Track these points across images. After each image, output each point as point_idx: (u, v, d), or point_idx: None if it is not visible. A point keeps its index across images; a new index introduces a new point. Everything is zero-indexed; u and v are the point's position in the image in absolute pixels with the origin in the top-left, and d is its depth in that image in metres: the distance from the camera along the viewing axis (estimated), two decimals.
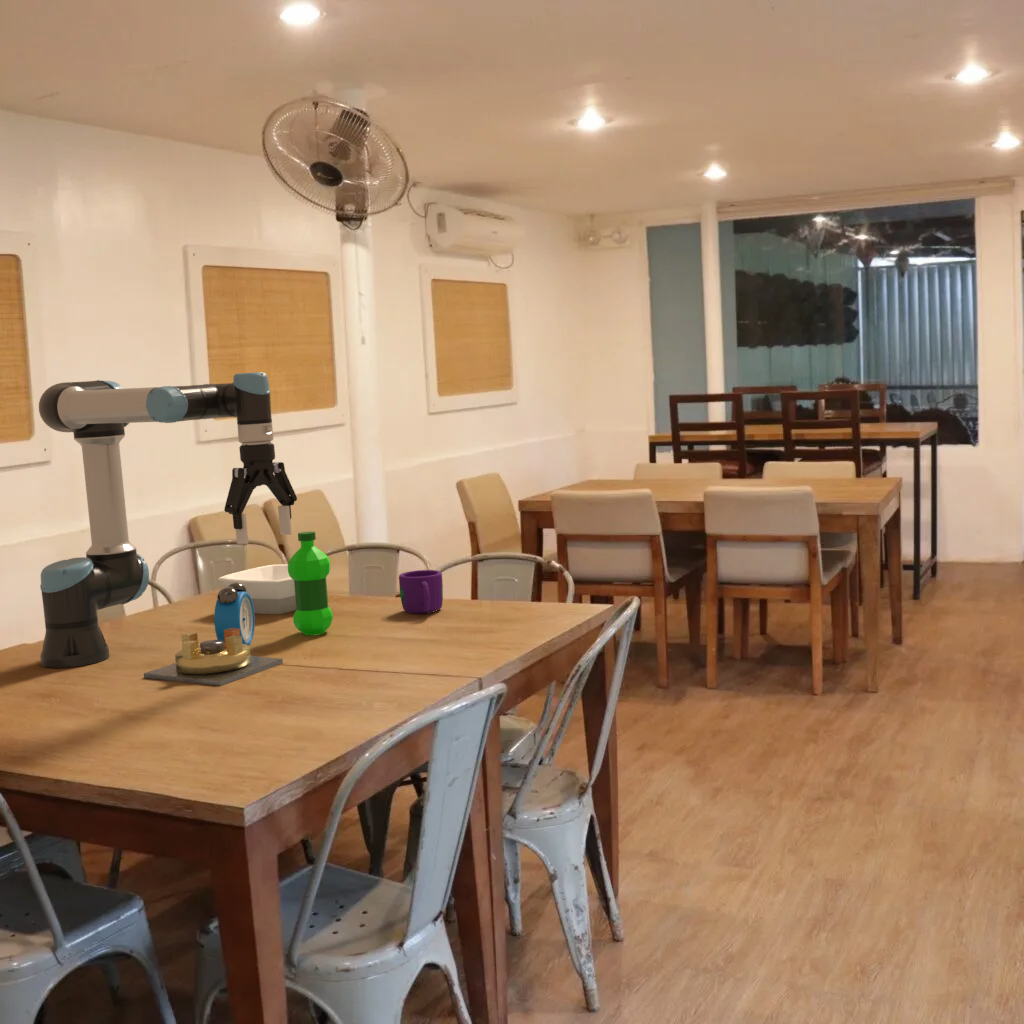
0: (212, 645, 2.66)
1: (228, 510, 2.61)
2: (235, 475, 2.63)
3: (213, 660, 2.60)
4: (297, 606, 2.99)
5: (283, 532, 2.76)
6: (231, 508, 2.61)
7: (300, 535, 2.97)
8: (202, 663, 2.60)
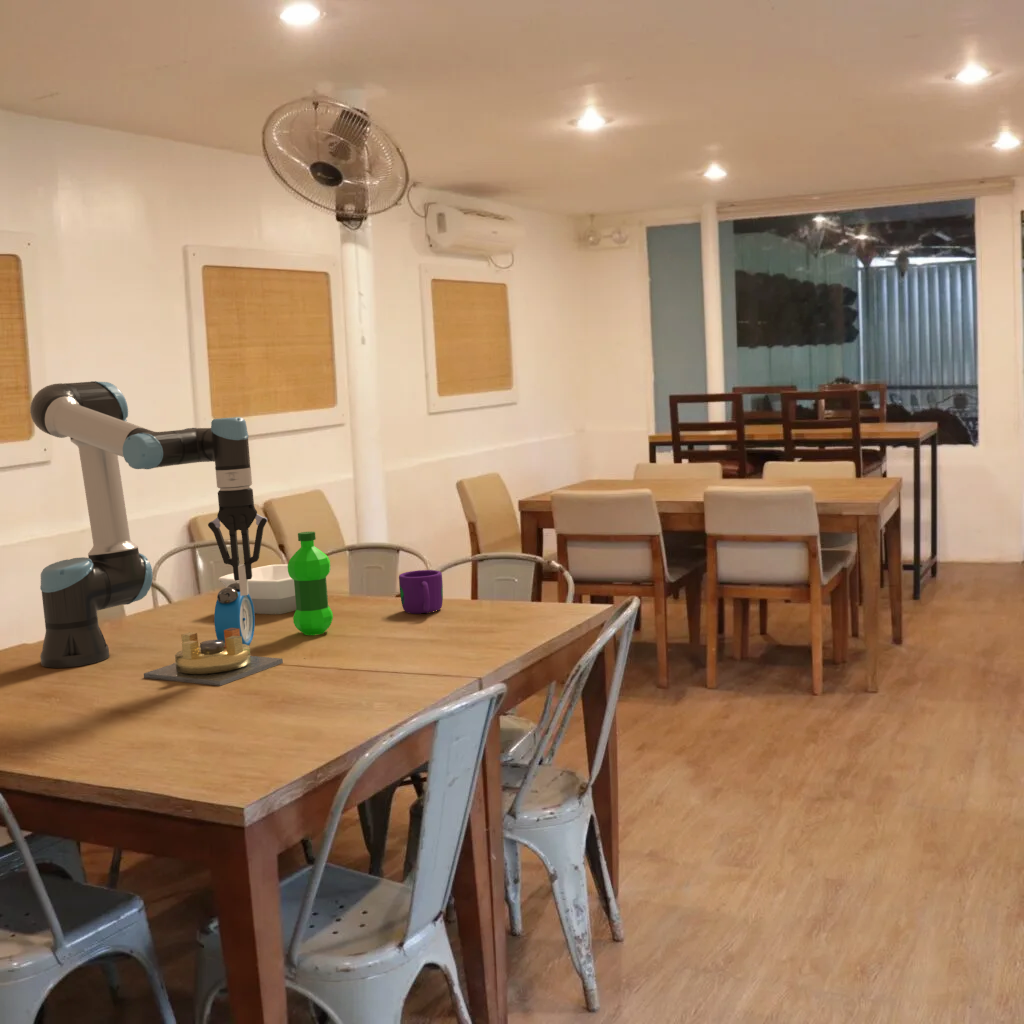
0: (212, 645, 2.66)
1: None
2: None
3: (213, 660, 2.60)
4: (297, 606, 2.99)
5: None
6: None
7: (300, 535, 2.97)
8: (202, 663, 2.60)
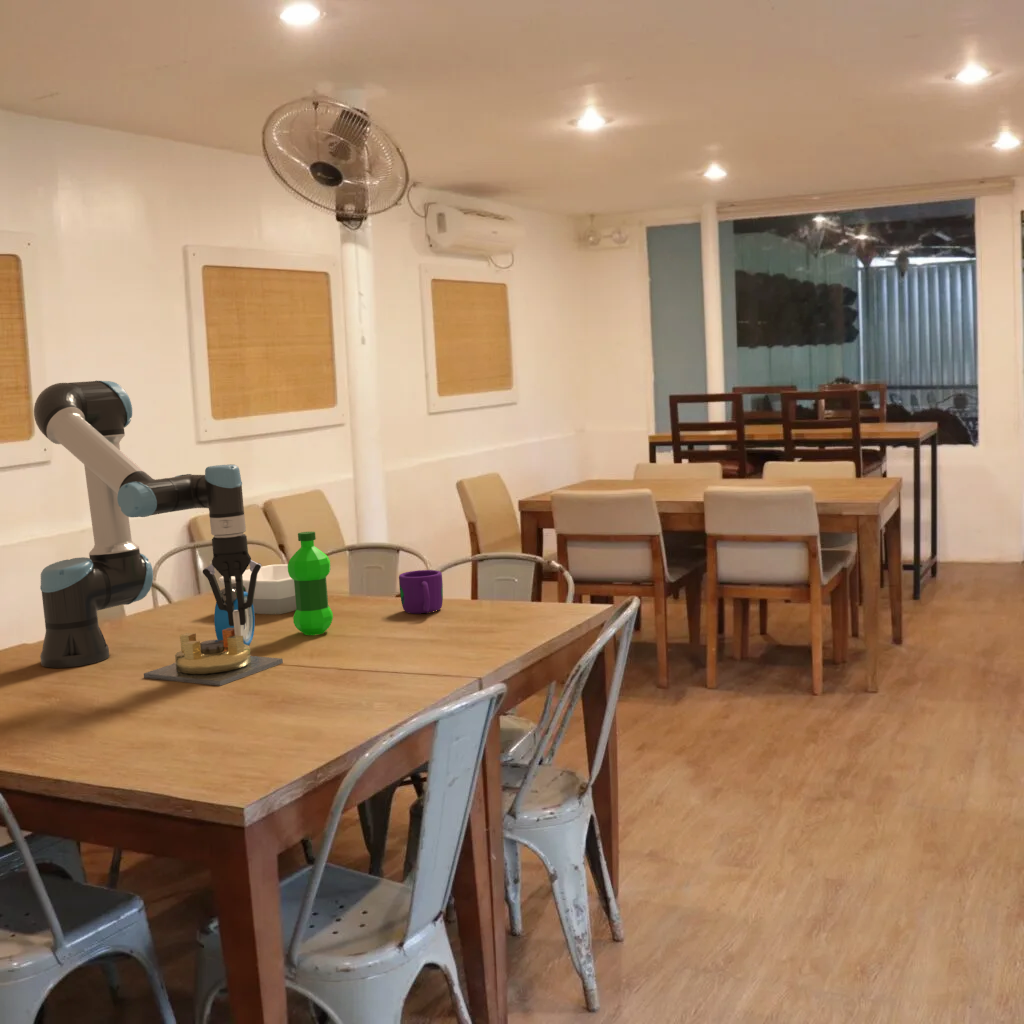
0: (213, 645, 2.66)
1: None
2: None
3: (216, 660, 2.61)
4: (297, 606, 2.99)
5: None
6: None
7: (300, 535, 2.97)
8: (204, 663, 2.60)
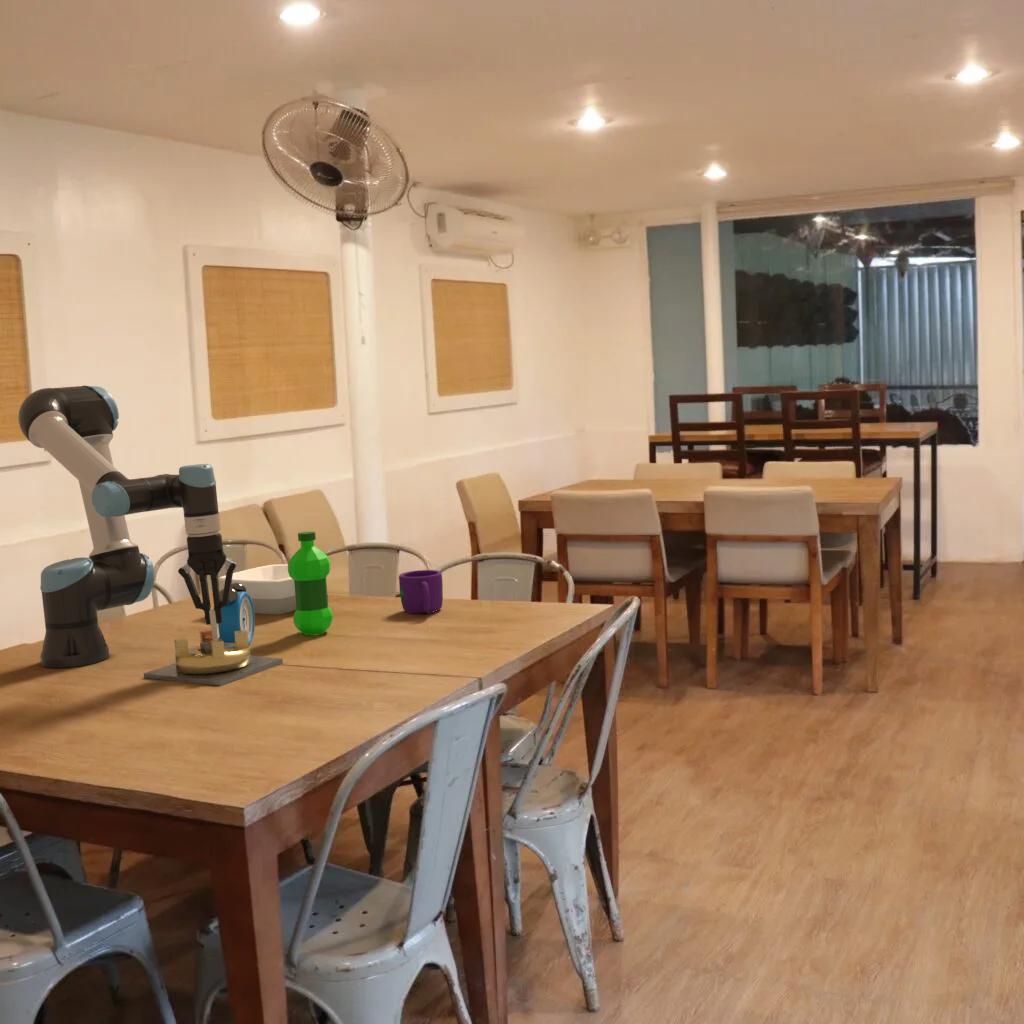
0: None
1: None
2: None
3: (243, 653, 2.65)
4: (297, 606, 2.99)
5: None
6: None
7: (300, 535, 2.97)
8: (235, 658, 2.63)
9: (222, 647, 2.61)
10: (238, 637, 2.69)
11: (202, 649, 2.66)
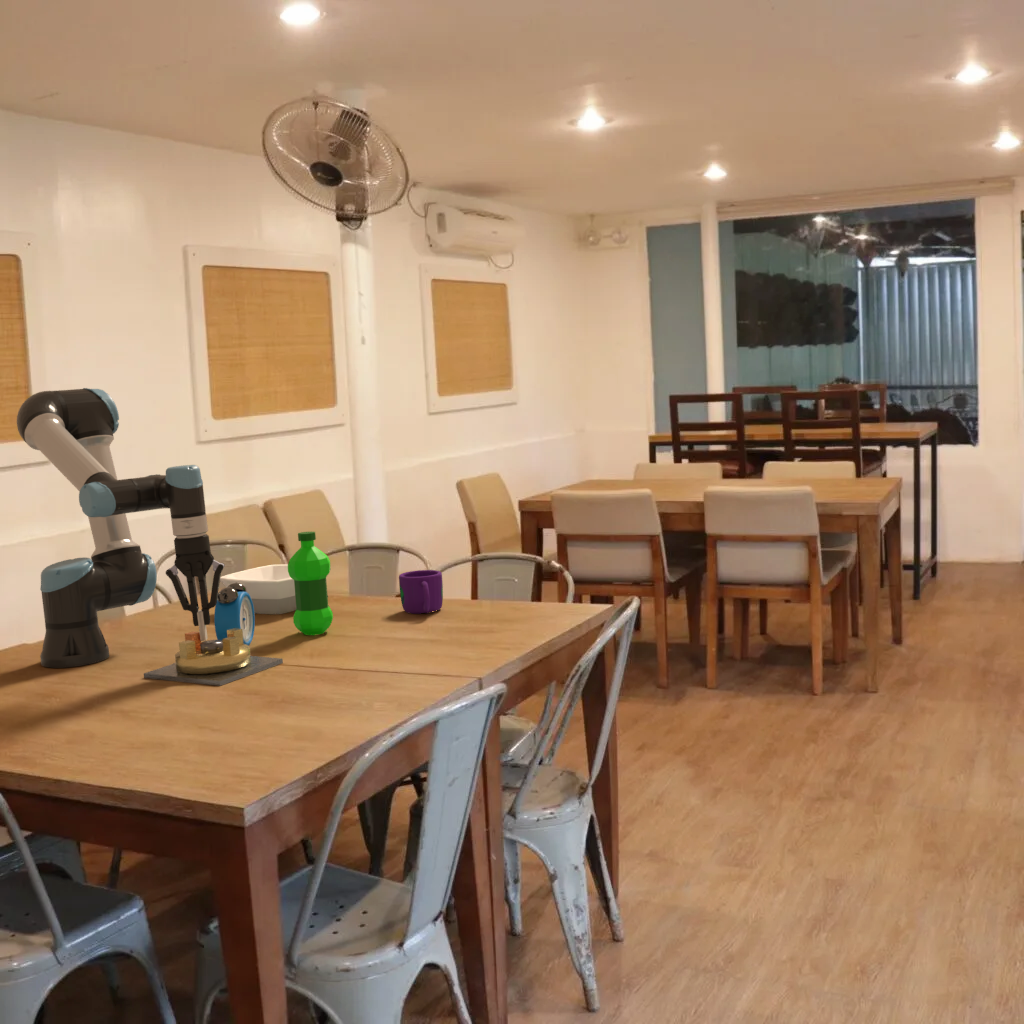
0: (223, 642, 2.68)
1: None
2: None
3: (249, 649, 2.69)
4: (297, 606, 2.99)
5: None
6: None
7: (300, 535, 2.97)
8: (246, 653, 2.67)
9: (237, 643, 2.64)
10: (235, 635, 2.71)
11: (206, 649, 2.66)
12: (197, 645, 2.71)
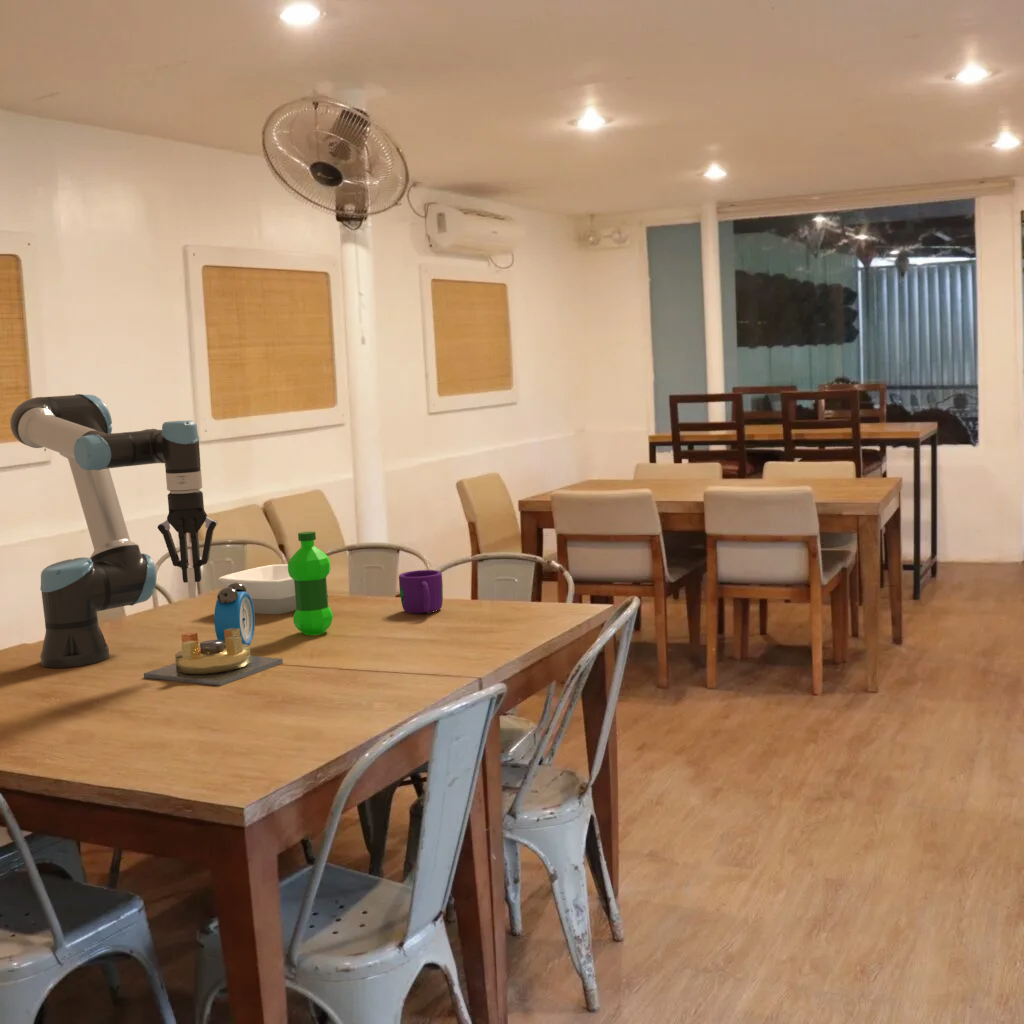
0: None
1: None
2: None
3: (249, 648, 2.70)
4: (297, 606, 2.99)
5: None
6: None
7: (300, 535, 2.97)
8: (248, 652, 2.68)
9: (241, 642, 2.65)
10: (233, 634, 2.72)
11: (208, 649, 2.66)
12: None
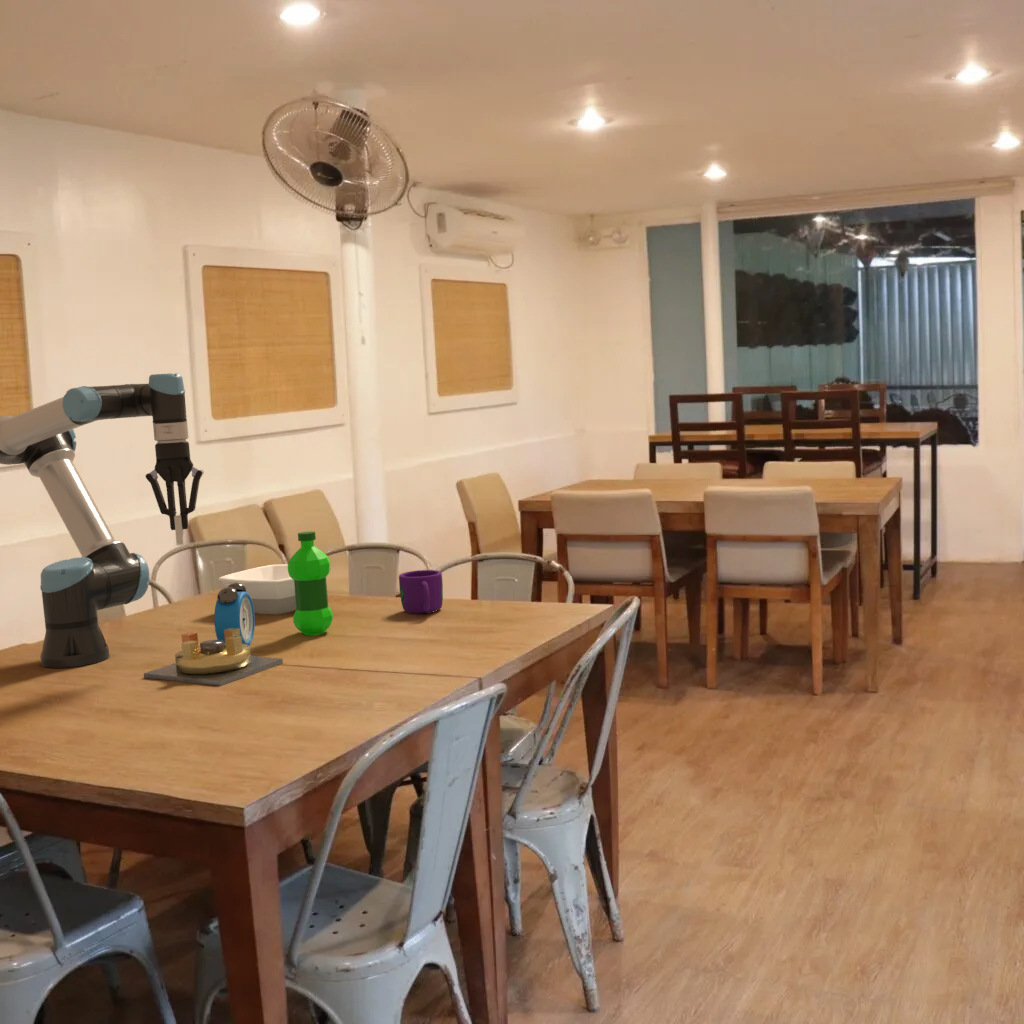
0: None
1: None
2: None
3: (249, 648, 2.70)
4: (297, 606, 2.99)
5: None
6: None
7: (300, 535, 2.97)
8: (248, 652, 2.68)
9: (241, 642, 2.65)
10: (233, 634, 2.72)
11: (208, 649, 2.66)
12: None
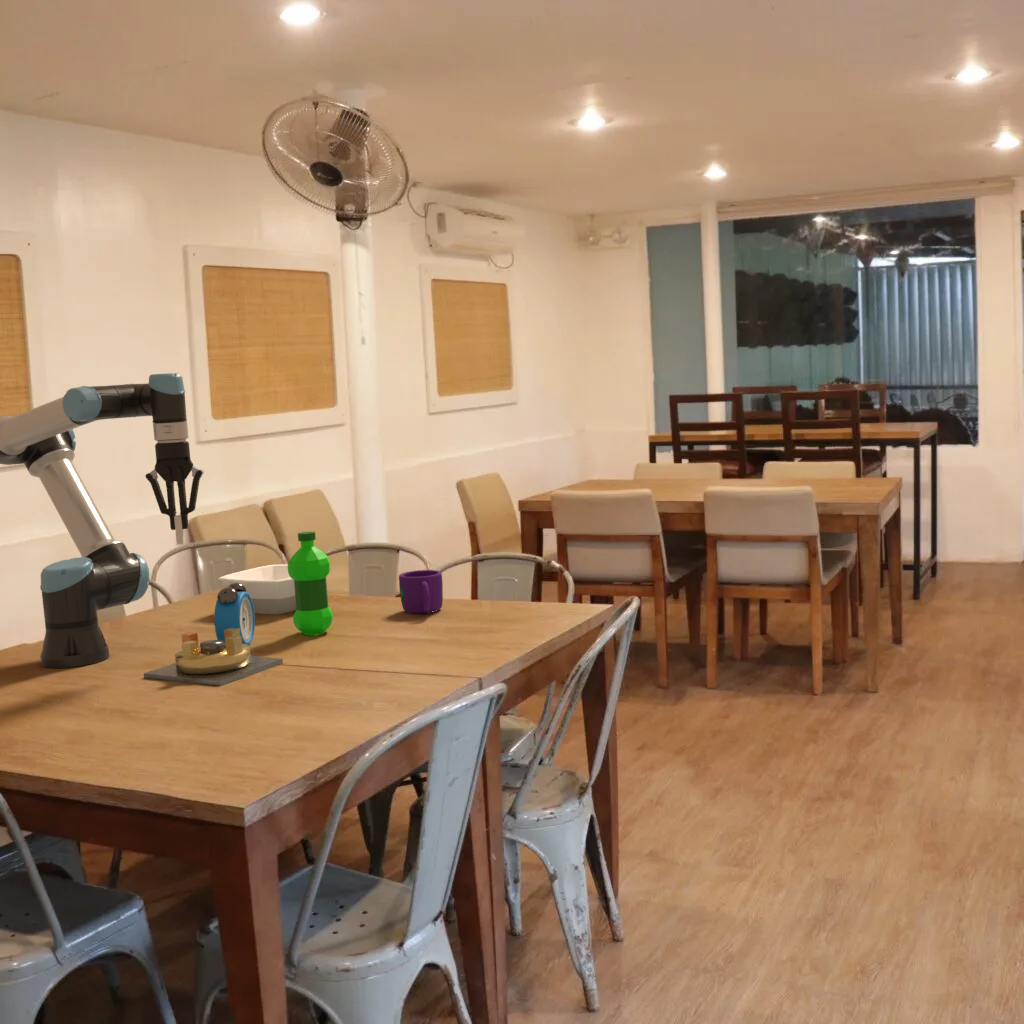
0: None
1: None
2: None
3: (249, 648, 2.70)
4: (297, 606, 2.99)
5: None
6: None
7: (300, 535, 2.97)
8: (248, 652, 2.68)
9: (241, 642, 2.65)
10: (233, 634, 2.72)
11: (208, 649, 2.66)
12: None
